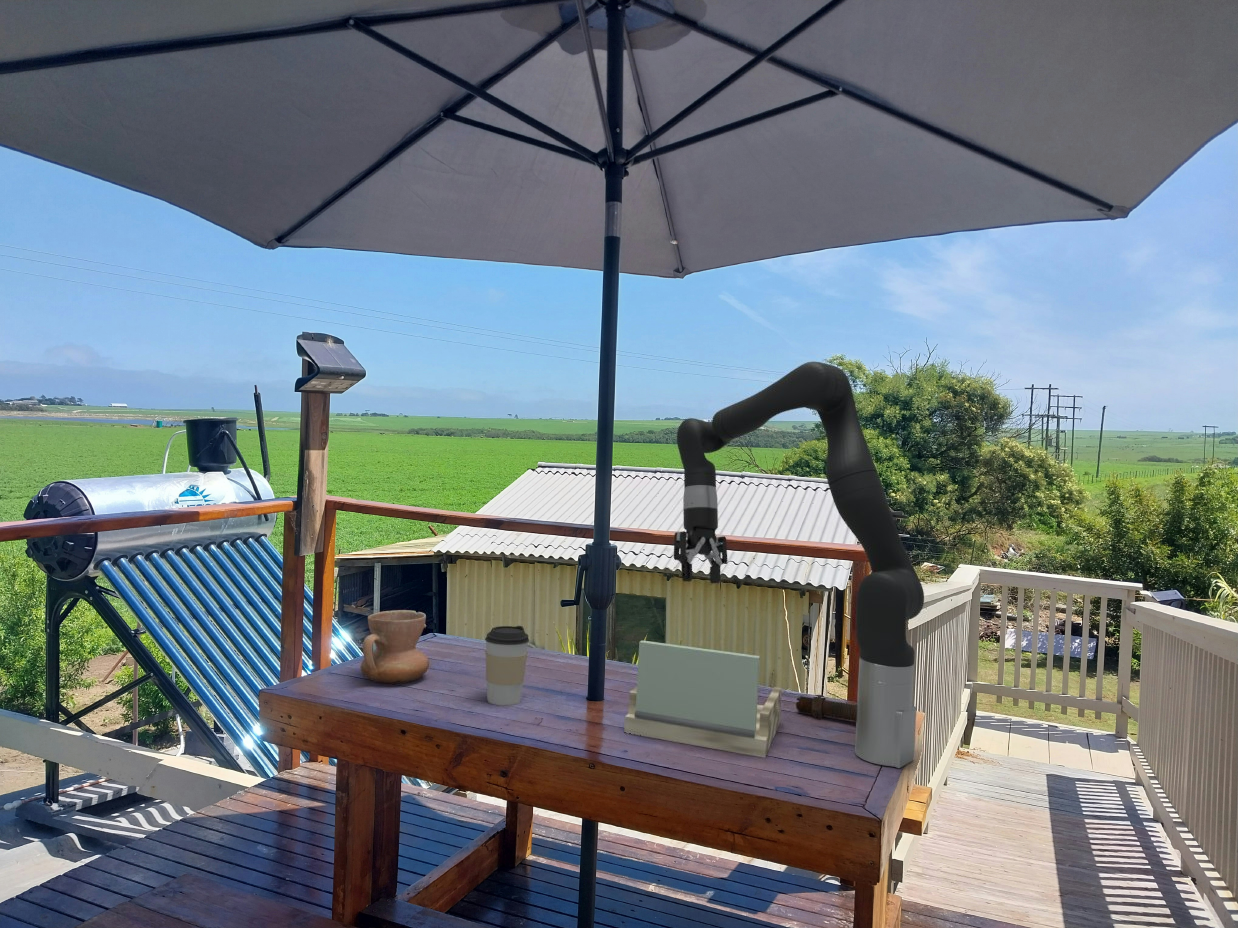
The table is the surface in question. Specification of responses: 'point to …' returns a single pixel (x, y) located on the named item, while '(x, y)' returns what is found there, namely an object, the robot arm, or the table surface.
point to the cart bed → (711, 739)
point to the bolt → (826, 708)
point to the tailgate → (698, 688)
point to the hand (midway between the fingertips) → (701, 582)
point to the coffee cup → (505, 664)
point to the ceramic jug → (394, 647)
